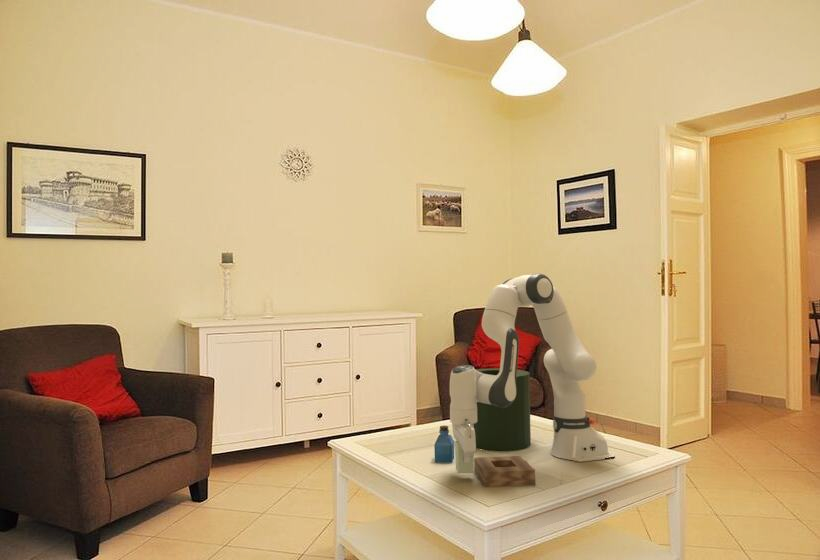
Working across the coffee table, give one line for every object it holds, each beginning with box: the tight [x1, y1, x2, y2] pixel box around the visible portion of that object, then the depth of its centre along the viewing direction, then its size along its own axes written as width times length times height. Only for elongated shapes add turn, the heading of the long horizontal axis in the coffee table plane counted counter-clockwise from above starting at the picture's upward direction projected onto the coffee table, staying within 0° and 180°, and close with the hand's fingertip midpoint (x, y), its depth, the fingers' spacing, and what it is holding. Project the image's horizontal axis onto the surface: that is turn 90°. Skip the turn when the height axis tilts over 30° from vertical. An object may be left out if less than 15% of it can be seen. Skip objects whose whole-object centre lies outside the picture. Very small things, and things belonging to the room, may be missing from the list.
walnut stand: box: [474, 455, 536, 488], centre depth 185 cm, size 16×16×4 cm
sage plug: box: [454, 440, 475, 474], centre depth 184 cm, size 5×5×9 cm
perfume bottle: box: [434, 425, 455, 464], centre depth 205 cm, size 6×6×12 cm
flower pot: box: [474, 367, 532, 453], centre depth 228 cm, size 25×25×28 cm
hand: (464, 459), depth 184 cm, fingers closed on sage plug, 5 cm apart
